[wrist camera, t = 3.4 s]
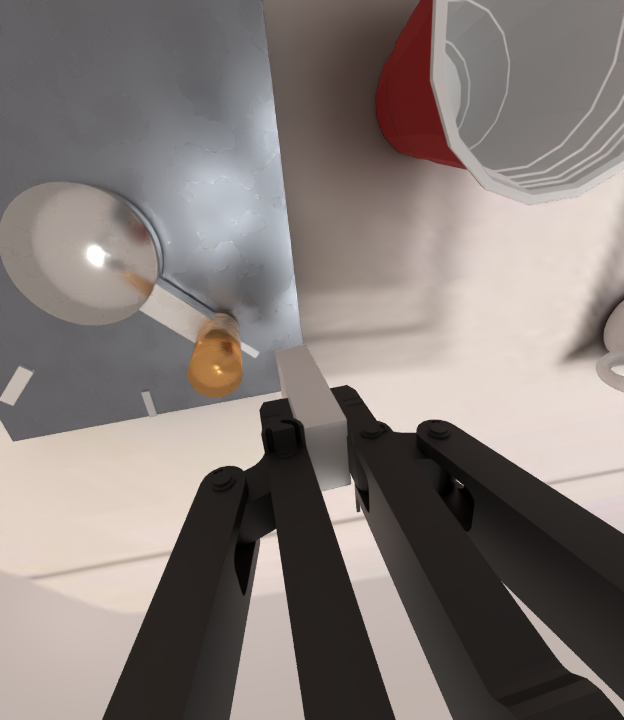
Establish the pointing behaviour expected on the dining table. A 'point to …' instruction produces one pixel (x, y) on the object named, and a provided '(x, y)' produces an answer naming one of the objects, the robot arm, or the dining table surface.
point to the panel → (145, 195)
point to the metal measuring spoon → (110, 273)
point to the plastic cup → (511, 93)
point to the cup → (613, 349)
